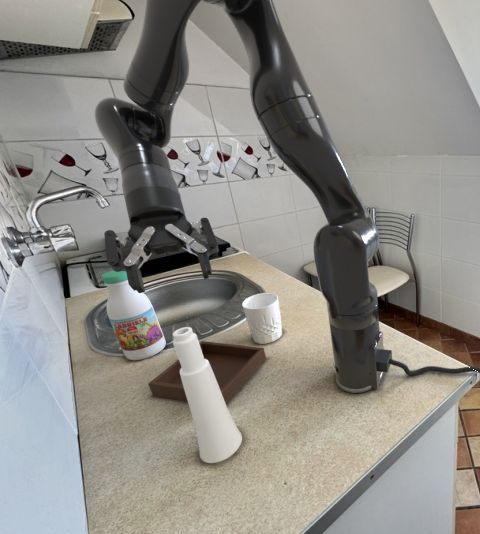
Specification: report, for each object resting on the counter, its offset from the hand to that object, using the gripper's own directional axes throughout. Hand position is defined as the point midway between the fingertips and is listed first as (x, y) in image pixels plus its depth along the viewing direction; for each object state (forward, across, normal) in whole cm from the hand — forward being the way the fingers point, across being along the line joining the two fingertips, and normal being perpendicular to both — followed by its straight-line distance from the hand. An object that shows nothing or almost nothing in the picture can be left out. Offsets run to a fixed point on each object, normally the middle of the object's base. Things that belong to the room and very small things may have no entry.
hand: (174, 283), depth 50 cm
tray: (+12, +1, +24) cm, 27 cm away
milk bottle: (-2, -11, +38) cm, 39 cm away
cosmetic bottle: (+25, 0, +11) cm, 27 cm away
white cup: (+6, +13, +30) cm, 33 cm away
